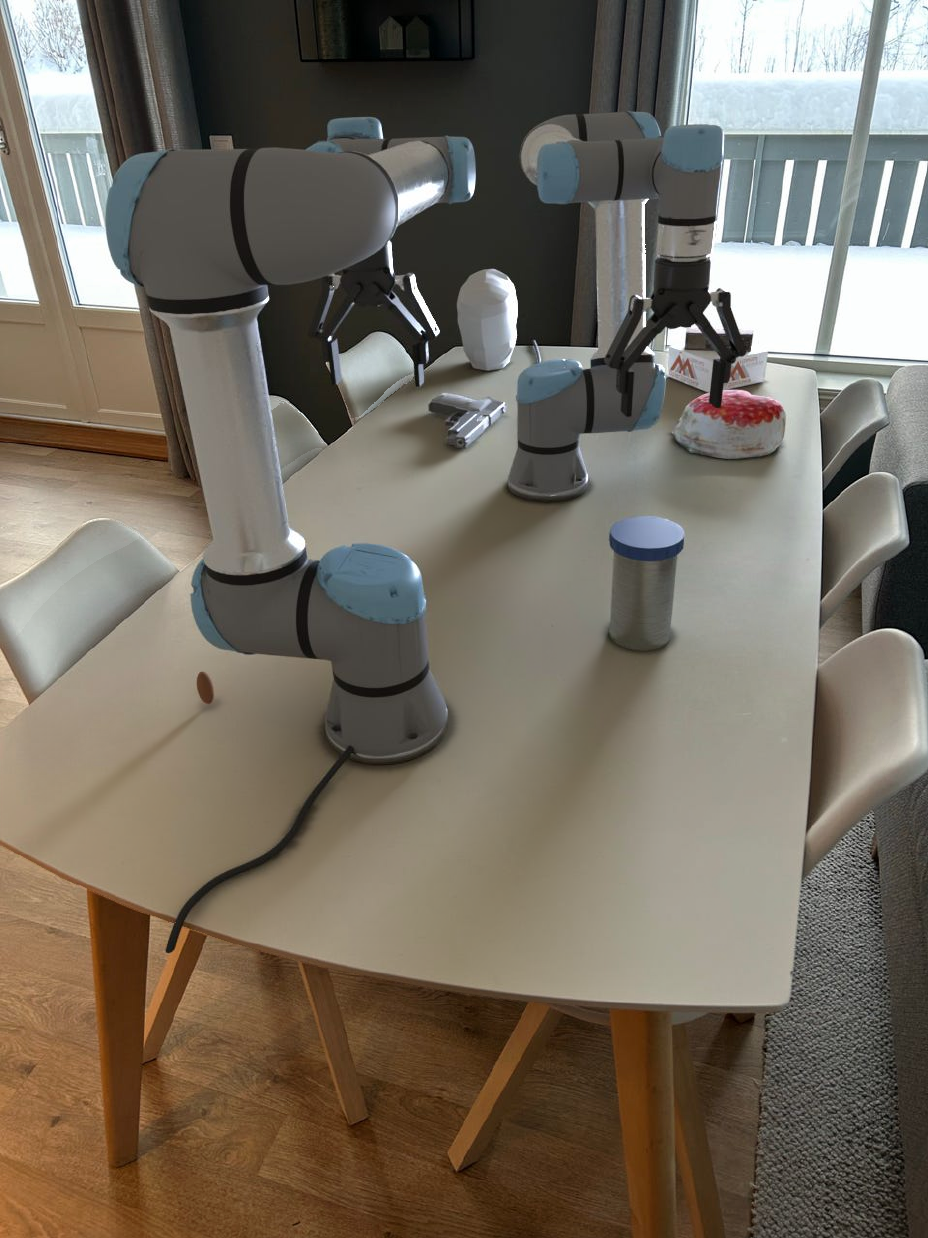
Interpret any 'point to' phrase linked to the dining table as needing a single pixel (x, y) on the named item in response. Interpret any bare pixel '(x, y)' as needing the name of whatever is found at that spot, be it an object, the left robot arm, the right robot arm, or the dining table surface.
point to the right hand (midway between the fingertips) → (670, 409)
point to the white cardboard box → (697, 361)
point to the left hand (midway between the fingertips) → (377, 383)
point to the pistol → (466, 416)
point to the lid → (646, 538)
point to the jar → (642, 602)
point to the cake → (732, 426)
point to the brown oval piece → (205, 687)
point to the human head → (488, 319)
